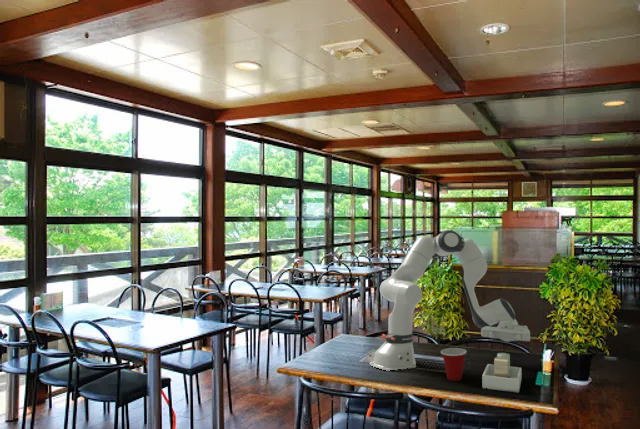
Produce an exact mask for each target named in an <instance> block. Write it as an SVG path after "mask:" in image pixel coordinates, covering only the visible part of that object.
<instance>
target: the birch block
mask: <svg viewBox="0 0 640 429" xmlns="http://www.w3.org/2000/svg"><path fill="white" fill-rule="evenodd" d="M493 365H494V376H496V377H504V378H509V365H508V358H499V357H497V356H496V357H494V361H493Z"/></svg>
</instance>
